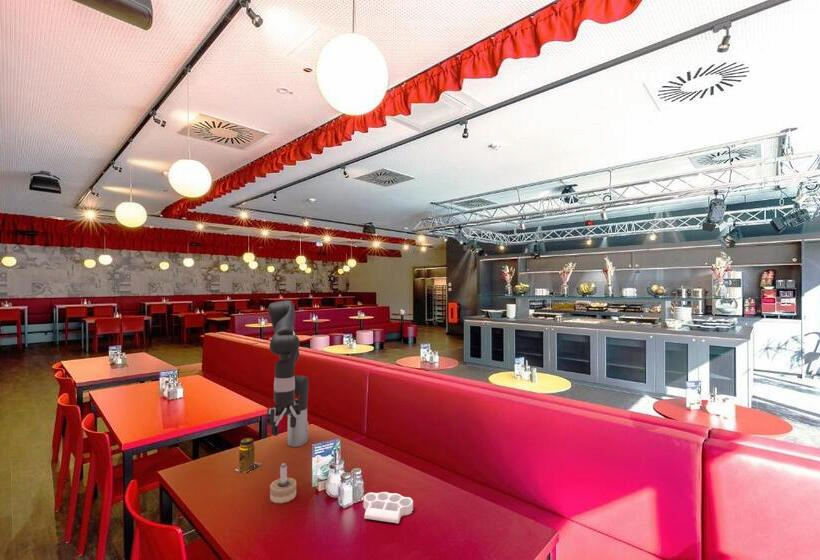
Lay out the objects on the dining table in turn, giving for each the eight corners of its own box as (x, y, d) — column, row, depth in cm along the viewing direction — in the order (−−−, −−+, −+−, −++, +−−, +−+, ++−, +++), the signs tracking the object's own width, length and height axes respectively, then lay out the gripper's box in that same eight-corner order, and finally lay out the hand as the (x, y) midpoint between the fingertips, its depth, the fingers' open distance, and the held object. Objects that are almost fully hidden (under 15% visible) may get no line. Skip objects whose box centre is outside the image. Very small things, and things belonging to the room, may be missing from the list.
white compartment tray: (355, 520, 127) (369, 496, 141) (407, 528, 123) (415, 502, 137) (355, 510, 127) (369, 487, 141) (407, 517, 123) (415, 493, 137)
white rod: (283, 493, 142) (283, 461, 142) (288, 495, 140) (288, 462, 140) (278, 496, 139) (278, 463, 140) (283, 498, 138) (283, 465, 138)
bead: (284, 487, 146) (284, 475, 146) (300, 493, 142) (301, 481, 142) (265, 498, 138) (265, 486, 138) (282, 505, 134) (282, 493, 134)
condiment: (234, 470, 159) (234, 442, 159) (249, 461, 167) (249, 434, 167) (247, 473, 156) (248, 444, 156) (262, 464, 164) (262, 436, 164)
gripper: (291, 382, 149) (291, 423, 149) (262, 391, 136) (261, 436, 136) (305, 385, 145) (305, 426, 145) (276, 394, 133) (276, 440, 133)
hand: (284, 431), depth 141 cm, fingers open, 8 cm apart
